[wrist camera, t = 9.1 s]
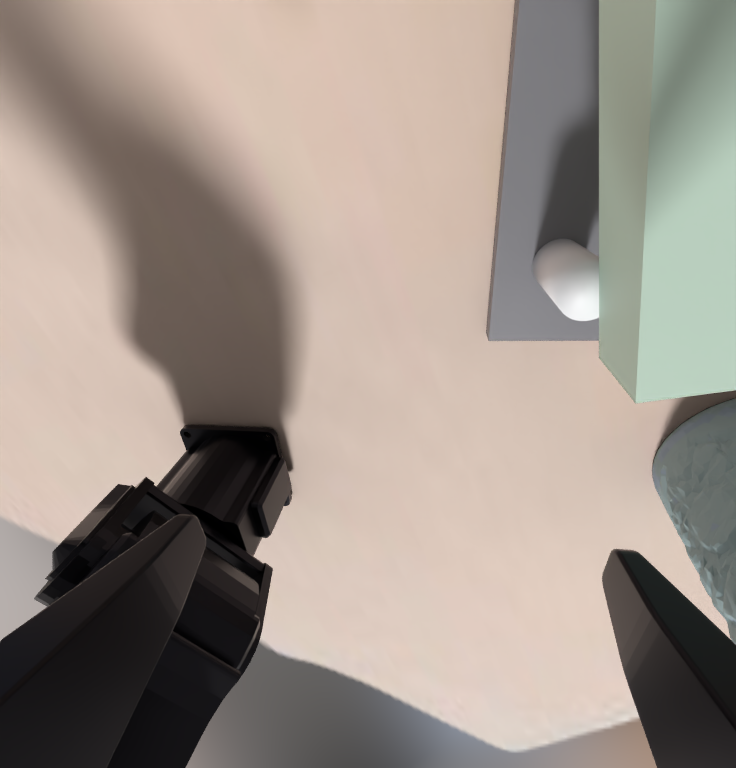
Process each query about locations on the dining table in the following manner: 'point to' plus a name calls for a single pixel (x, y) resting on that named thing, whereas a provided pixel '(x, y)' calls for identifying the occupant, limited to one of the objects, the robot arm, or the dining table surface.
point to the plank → (667, 196)
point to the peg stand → (549, 179)
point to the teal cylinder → (704, 498)
